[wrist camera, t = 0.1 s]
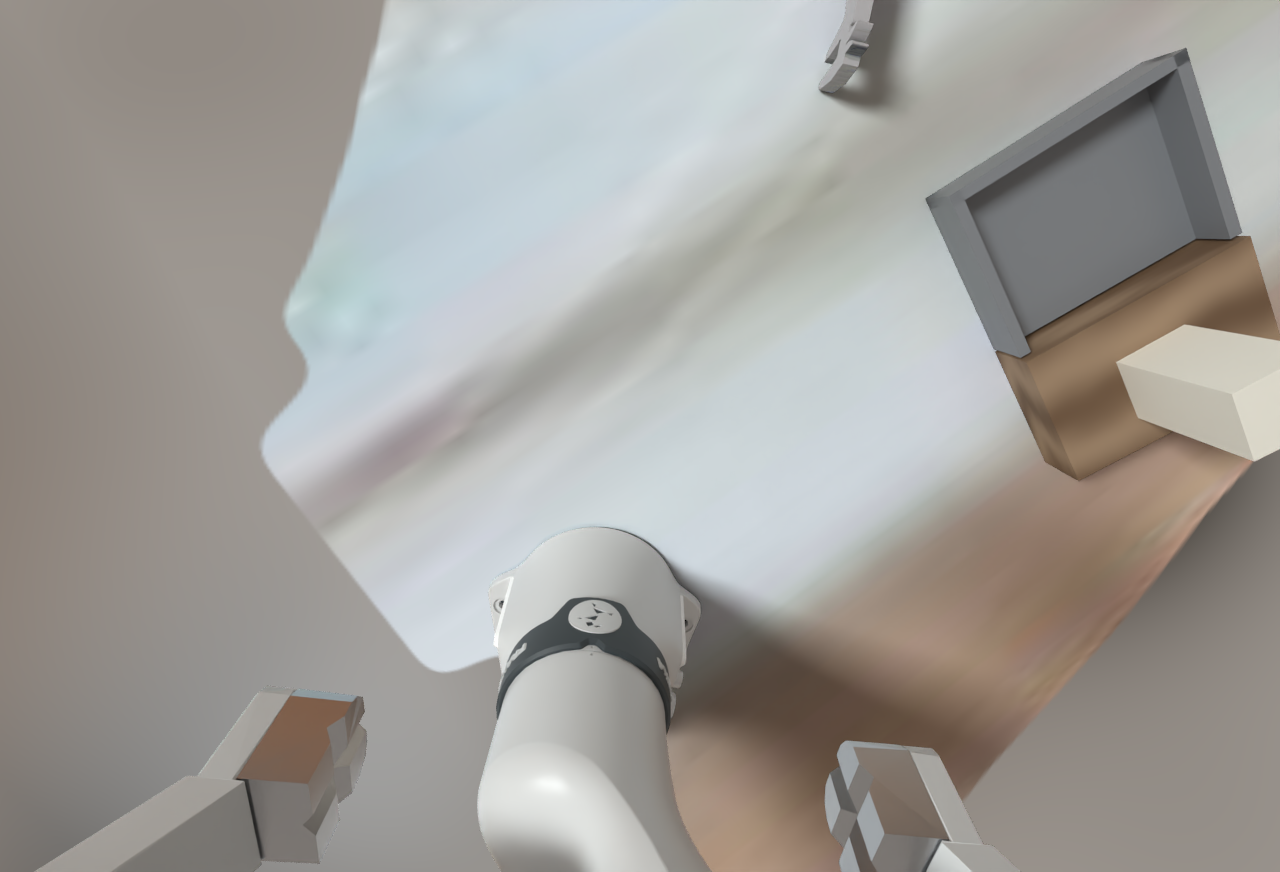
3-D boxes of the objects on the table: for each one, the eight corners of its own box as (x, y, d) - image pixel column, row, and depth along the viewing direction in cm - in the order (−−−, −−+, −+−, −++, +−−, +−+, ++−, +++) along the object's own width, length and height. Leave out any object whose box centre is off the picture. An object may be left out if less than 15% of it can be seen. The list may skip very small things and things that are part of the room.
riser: (1238, 359, 48) (1290, 370, 44) (1045, 462, 51) (1078, 480, 47) (1198, 235, 45) (1250, 236, 41) (995, 351, 48) (1026, 362, 44)
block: (1204, 382, 45) (1339, 418, 36) (1138, 417, 45) (1254, 461, 37) (1184, 324, 43) (1319, 347, 35) (1116, 362, 44) (1231, 394, 35)
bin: (1197, 232, 45) (1242, 232, 42) (993, 348, 48) (1020, 357, 44) (1142, 62, 41) (1186, 47, 38) (925, 198, 44) (948, 196, 41)
